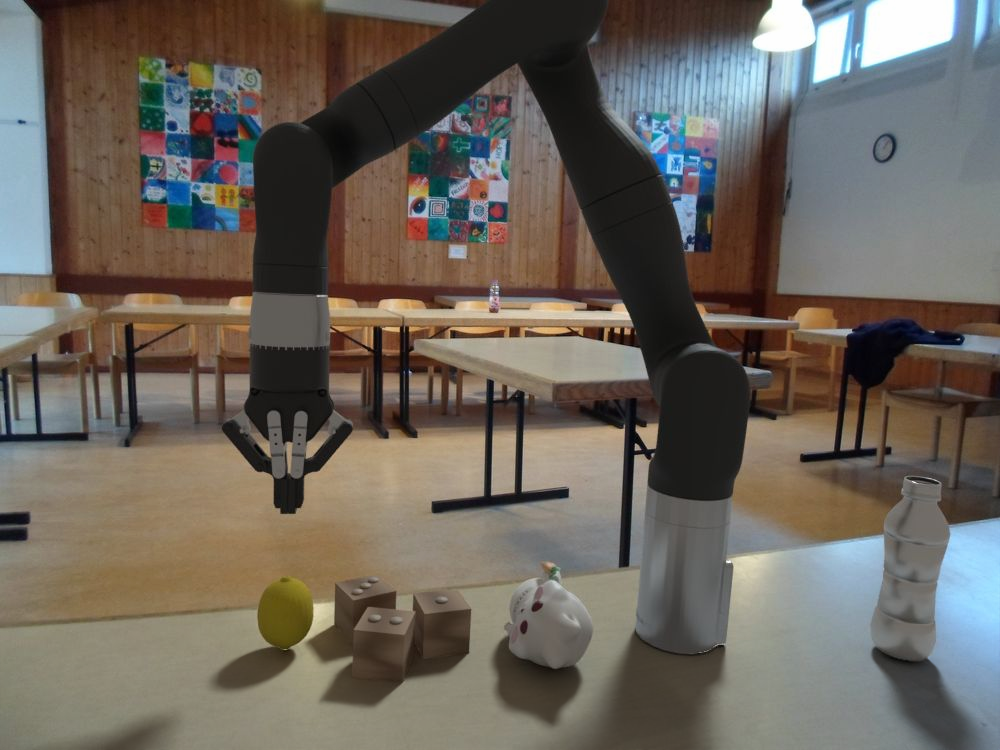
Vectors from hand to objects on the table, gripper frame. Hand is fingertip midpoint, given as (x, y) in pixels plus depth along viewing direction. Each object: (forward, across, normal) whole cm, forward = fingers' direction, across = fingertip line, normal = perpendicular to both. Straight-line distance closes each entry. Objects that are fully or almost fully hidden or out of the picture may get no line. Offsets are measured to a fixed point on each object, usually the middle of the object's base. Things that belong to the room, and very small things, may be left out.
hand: (288, 511), depth 73 cm
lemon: (+15, 0, 0) cm, 15 cm away
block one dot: (+15, -16, 0) cm, 22 cm away
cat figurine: (+15, -27, +3) cm, 31 cm away
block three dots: (+15, -8, -4) cm, 17 cm away
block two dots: (+15, -10, +4) cm, 18 cm away
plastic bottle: (+15, -67, +6) cm, 69 cm away
